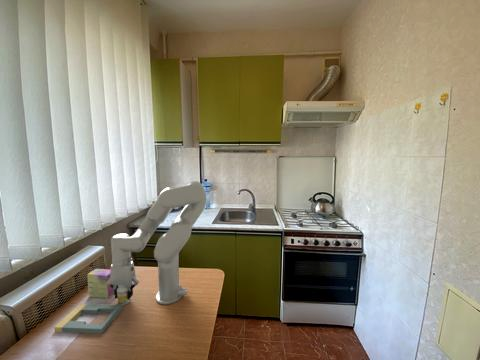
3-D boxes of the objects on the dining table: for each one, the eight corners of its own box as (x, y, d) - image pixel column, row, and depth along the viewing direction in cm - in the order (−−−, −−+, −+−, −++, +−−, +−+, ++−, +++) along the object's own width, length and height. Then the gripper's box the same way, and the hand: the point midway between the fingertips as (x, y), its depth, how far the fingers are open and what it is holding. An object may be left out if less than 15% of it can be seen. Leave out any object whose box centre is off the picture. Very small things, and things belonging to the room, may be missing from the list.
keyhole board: (121, 309, 94) (121, 305, 94) (101, 333, 81) (101, 328, 81) (81, 308, 95) (80, 303, 94) (54, 331, 82) (54, 327, 81)
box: (116, 291, 107) (114, 269, 105) (108, 298, 101) (106, 275, 100) (97, 289, 108) (95, 268, 106) (88, 297, 102) (86, 274, 101)
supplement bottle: (123, 306, 95) (121, 287, 94) (114, 303, 97) (113, 284, 96) (133, 299, 100) (132, 280, 99) (125, 296, 102) (123, 278, 101)
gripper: (143, 257, 100) (145, 292, 102) (109, 256, 101) (111, 291, 103) (135, 265, 93) (137, 303, 95) (98, 264, 93) (100, 302, 95)
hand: (123, 296), depth 99 cm, fingers closed on supplement bottle, 5 cm apart
